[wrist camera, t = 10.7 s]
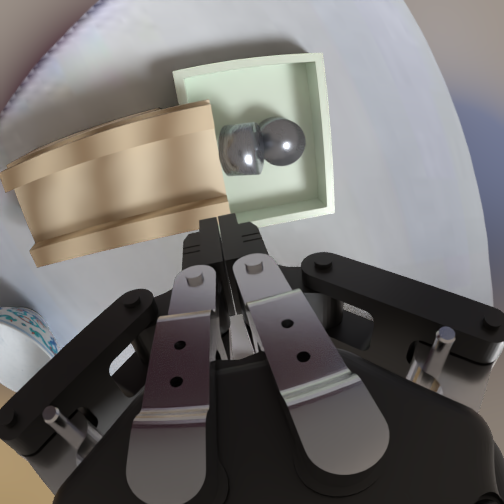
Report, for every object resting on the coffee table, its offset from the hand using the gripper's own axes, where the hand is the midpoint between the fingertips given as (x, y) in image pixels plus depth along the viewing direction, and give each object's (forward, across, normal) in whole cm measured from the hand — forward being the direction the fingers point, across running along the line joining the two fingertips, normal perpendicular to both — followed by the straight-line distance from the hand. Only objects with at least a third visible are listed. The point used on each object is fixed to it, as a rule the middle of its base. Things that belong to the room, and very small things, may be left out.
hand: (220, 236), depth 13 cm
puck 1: (+14, -2, 0) cm, 15 cm away
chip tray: (+19, -5, 0) cm, 19 cm away
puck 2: (+16, -7, 0) cm, 17 cm away
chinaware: (+19, +30, +17) cm, 40 cm away
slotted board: (+19, +8, 0) cm, 20 cm away
